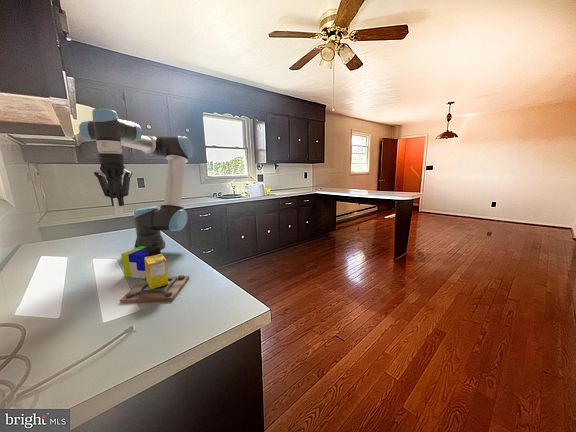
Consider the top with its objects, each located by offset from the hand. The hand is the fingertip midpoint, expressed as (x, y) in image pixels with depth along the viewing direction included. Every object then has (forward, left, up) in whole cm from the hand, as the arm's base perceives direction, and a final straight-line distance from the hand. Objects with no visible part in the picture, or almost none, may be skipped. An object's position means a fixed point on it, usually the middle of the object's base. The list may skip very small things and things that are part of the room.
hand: (119, 214), depth 95 cm
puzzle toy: (-3, +5, -27) cm, 27 cm away
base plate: (+13, +18, -26) cm, 34 cm away
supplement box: (+13, +18, -25) cm, 33 cm away
